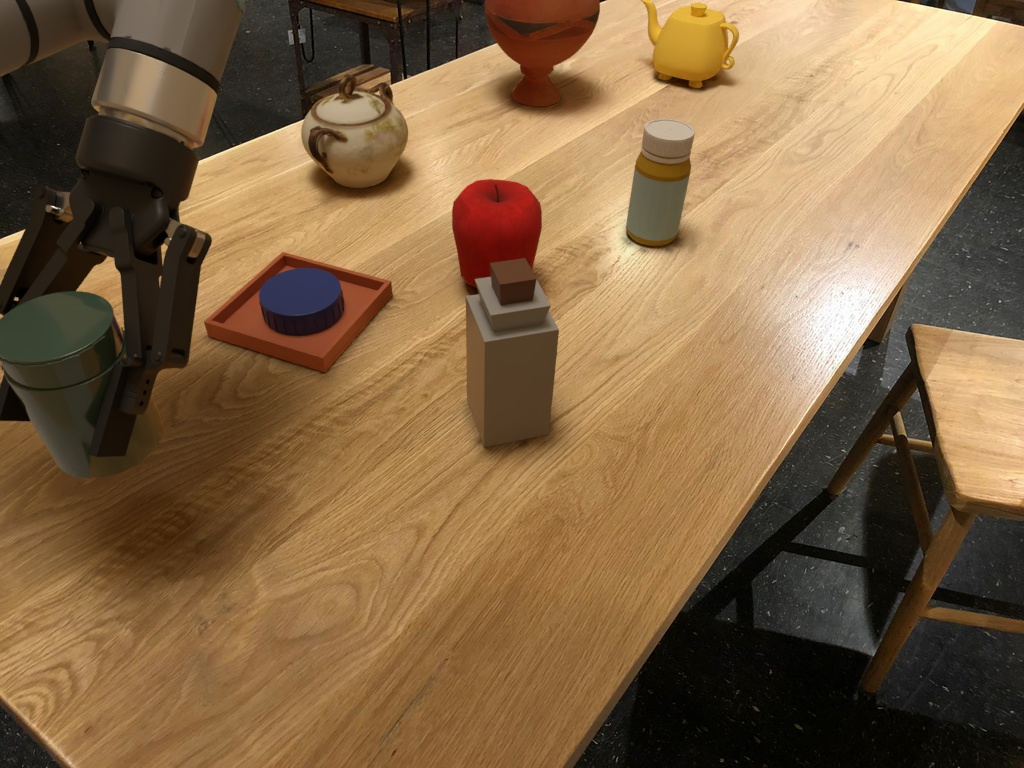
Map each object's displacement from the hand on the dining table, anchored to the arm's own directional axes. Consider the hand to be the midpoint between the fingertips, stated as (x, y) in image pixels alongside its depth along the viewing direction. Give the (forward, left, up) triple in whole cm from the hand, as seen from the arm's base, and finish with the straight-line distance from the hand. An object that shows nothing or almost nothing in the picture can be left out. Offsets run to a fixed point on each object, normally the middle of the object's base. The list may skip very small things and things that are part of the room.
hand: (58, 436), depth 55 cm
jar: (0, +3, -4) cm, 5 cm away
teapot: (+20, +126, -15) cm, 128 cm away
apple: (+14, +49, -15) cm, 53 cm away
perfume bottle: (+24, +28, -15) cm, 40 cm away
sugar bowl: (-15, +66, -15) cm, 69 cm away
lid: (-4, +34, -12) cm, 36 cm away
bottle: (+29, +68, -15) cm, 75 cm away
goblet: (-1, +104, -15) cm, 105 cm away
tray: (-4, +34, -15) cm, 37 cm away
